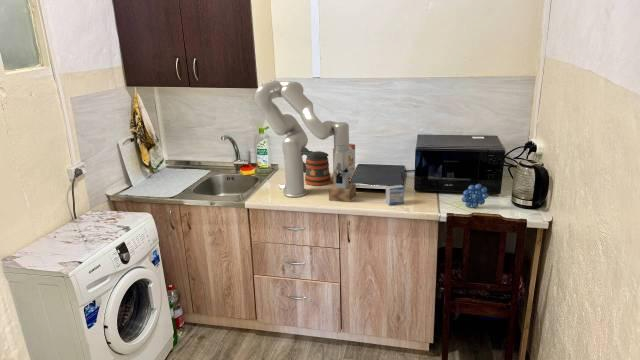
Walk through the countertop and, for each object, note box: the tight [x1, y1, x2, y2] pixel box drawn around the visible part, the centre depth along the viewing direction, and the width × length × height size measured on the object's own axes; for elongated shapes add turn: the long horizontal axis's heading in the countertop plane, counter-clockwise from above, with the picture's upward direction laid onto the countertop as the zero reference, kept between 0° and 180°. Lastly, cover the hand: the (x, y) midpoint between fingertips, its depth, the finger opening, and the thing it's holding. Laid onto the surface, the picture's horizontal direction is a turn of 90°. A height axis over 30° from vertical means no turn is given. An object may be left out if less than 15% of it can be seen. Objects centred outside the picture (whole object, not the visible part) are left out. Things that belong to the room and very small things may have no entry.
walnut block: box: [328, 182, 357, 203], centre depth 240 cm, size 11×11×6 cm
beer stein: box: [301, 146, 332, 187], centre depth 264 cm, size 19×15×20 cm
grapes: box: [461, 183, 489, 209], centre depth 221 cm, size 12×7×12 cm, turn 74°
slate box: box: [336, 172, 348, 189], centre depth 238 cm, size 5×5×7 cm
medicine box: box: [385, 184, 405, 206], centre depth 230 cm, size 8×4×9 cm, turn 105°
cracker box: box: [332, 143, 356, 185], centre depth 261 cm, size 14×6×21 cm, turn 143°
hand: (342, 180), depth 238 cm, fingers open, 9 cm apart
